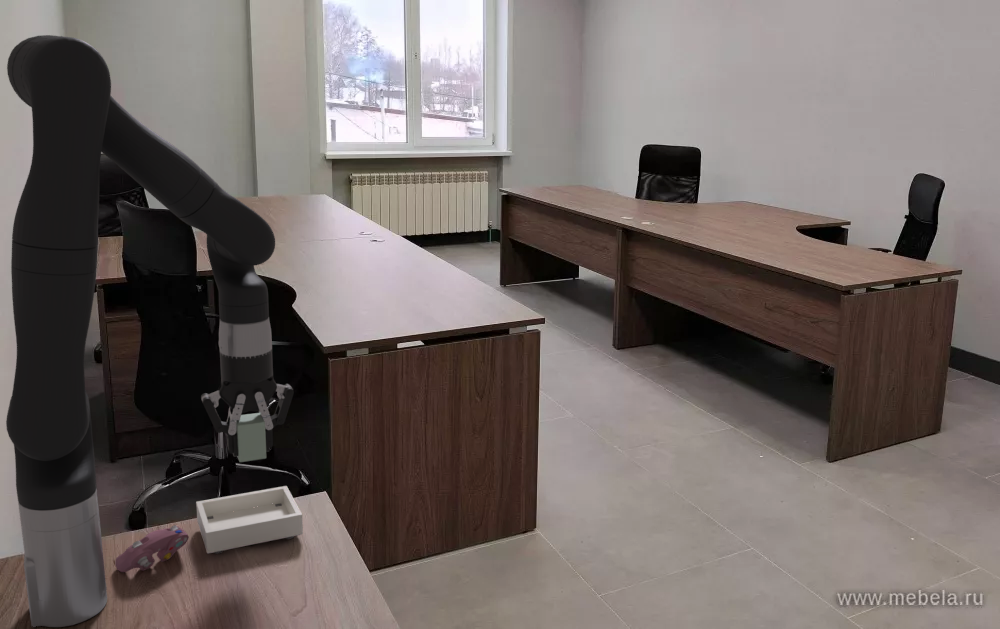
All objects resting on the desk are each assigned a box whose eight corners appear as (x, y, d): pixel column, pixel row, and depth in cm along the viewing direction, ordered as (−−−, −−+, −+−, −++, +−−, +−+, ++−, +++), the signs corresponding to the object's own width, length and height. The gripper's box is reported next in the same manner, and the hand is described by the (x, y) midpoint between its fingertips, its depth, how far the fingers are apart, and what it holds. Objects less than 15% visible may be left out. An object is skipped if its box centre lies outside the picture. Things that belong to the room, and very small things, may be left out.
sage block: (239, 462, 126) (237, 425, 124) (235, 451, 129) (233, 416, 128) (266, 458, 127) (264, 422, 126) (261, 447, 131) (260, 412, 129)
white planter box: (207, 560, 126) (206, 533, 125) (197, 527, 135) (196, 501, 134) (302, 540, 133) (302, 514, 131) (287, 510, 142) (286, 485, 141)
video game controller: (126, 588, 121) (135, 558, 118) (110, 566, 123) (118, 535, 119) (186, 560, 129) (196, 531, 125) (170, 539, 131) (180, 510, 127)
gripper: (198, 359, 117) (205, 469, 122) (299, 349, 123) (302, 455, 128) (192, 344, 124) (199, 449, 129) (288, 335, 130) (292, 436, 135)
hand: (250, 451), depth 128 cm, fingers closed on sage block, 4 cm apart
